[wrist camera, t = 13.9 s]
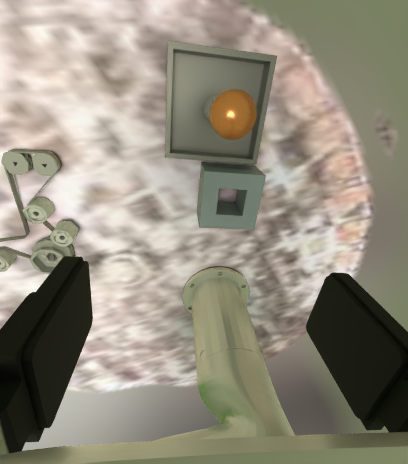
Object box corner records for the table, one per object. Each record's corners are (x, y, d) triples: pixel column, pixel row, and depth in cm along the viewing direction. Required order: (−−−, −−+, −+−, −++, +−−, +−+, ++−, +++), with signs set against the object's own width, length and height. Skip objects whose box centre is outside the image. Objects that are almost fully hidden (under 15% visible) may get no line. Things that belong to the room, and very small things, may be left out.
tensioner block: (245, 215, 41) (254, 229, 37) (196, 213, 40) (199, 227, 36) (255, 166, 37) (265, 175, 33) (201, 162, 36) (205, 171, 32)
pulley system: (124, 200, 39) (25, 128, 32) (119, 214, 35) (4, 135, 28) (35, 298, 47) (-58, 258, 41) (23, 319, 43) (-83, 278, 37)
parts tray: (250, 159, 37) (256, 164, 34) (165, 152, 35) (165, 157, 32) (268, 59, 31) (276, 55, 28) (168, 45, 29) (167, 40, 27)
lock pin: (227, 127, 34) (252, 141, 23) (198, 124, 33) (208, 137, 23) (232, 93, 32) (260, 92, 21) (201, 89, 31) (214, 86, 21)
